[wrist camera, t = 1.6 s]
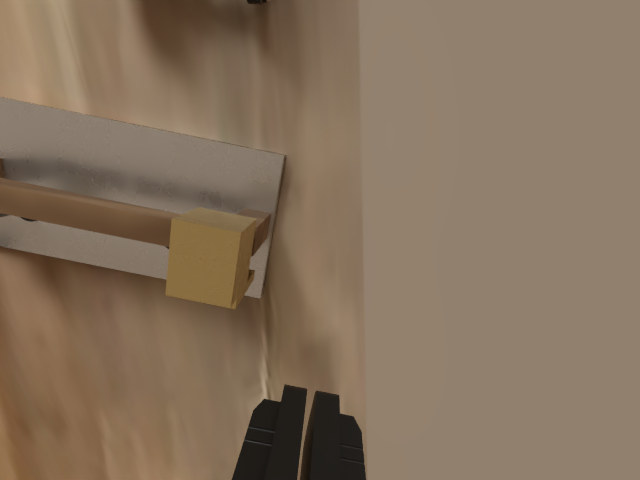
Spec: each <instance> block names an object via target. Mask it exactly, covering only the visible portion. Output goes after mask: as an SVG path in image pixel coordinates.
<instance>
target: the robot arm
mask: <svg viewBox="0 0 640 480" xmlns="http://www.w3.org/2000/svg"><path fill="white" fill-rule="evenodd" d="M306 396H307V389H305V388H300V387H295V386H290V385H284V390H283V395H282V400H281V402H277V401H272V400H267V399H264V400H263V401H262V402H261V403H260V404H259V405H258V406H257V407H256V408H255V409H254V410H253V413H252V417H251V420H250V423H249V427H248V429H247V433H246V436H245V439H244V442H243V446H242V449H241V452H240V455H239V458H238V462H237V465H236V468H235V471H234V474H233V478H232V480H297V474H298V466H299V457H300V448H301V440H302V431H303V422H304V413H305V405H306ZM300 480H366V476H365V465H364V454H363V444H362V433H361V430H360V428H359V426H358V424H357V422H356V420H355V419H354V417H353V416H349V415H344V414H340V406H339V395H336V394H331V393H326V392H321V391H316V392H315V396H314V400H313V404H312V409H311V413H310V417H309V422H308V426H307V430H306V435H305V441H304V448H303V456H302V466H301V475H300Z"/></svg>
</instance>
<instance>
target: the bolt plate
mask: <svg viewBox="0 0 640 480" xmlns="http://www.w3.org/2000/svg"><path fill="white" fill-rule="evenodd" d="M285 157H286V155H282V154H277V153H272V152H267V151H262V150H257V149H252V148H248V147H243V146H238V145H233V144H228V143H223V142H218V141H214V140H209V139H204V138H199V137H194V136H189V135H184V134H180V133H175V132H170V131H165V130H160V129H155V128H150V127H145V126H141V125H136V124H131V123H126V122H121V121H116V120H111V119H107V118H102V117H97V116H92V115H87V114H82V113H77V112H73V111H68V110H63V109H58V108H53V107H48V106H43V105H38V104H34V103H29V102H24V101H19V100H14V99H9V98H4V97H0V158H3V176H4V178H5V179H10V180H15V181H19V182H24V183H29V184H34V185H39V186H44V187H49V188H54V189H59V190H64V191H69V192H74V193H79V194H84V195H88V196H93V197H98V198H103V199H108V200H113V201H118V202H123V203H128V204H133V205H138V206H143V207H148V208H153V209H157V210H162V211H167V212H172V213H177V214H184V213H186V212H189V211H191V210H193V209H196V208H198V207H201V208H206V209H211V210H216V211H221V212H226V213H231V214H237V213H239V212H240V211H242V210H243V209H245V208H249V209H254V210H259V211H264V212H268V213H271V217H270V223H269V229H268V235H267V239H266V240H265V241H264V242H263V244H262V245H261V246H260V248H259V249H258V250H257V252H256V253H255V254H254V256H253V257H252V256H251V259H250V266H249V269H251V270H255V275H254V280H253V282H252V283H251V285H250V286H249V288H248V290H247V291H246V293H245V294H244V295H245V296H250V297H255V298H261V296H262V294H263V289H264V283H265V277H266V271H267V265H268V259H269V253H270V247H271V241H272V235H273V229H274V223H275V217H276V211H277V205H278V199H279V193H280V187H281V181H282V175H283V169H284V163H285ZM0 246H1V247H6V248H11V249H16V250H21V251H26V252H31V253H36V254H41V255H46V256H51V257H56V258H61V259H66V260H71V261H76V262H81V263H86V264H91V265H96V266H101V267H106V268H111V269H116V270H121V271H126V272H131V273H136V274H141V275H146V276H151V277H156V278H161V279H165V280H167V269H168V257H169V247H166V246H161V245H156V244H151V243H146V242H142V241H137V240H132V239H127V238H122V237H117V236H112V235H107V234H102V233H97V232H92V231H87V230H82V229H77V228H72V227H67V226H62V225H57V224H52V223H47V222H42V221H37V220H33V219H28V218H23V217H18V216H13V215H10V216H5V217H0Z"/></svg>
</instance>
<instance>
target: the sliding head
mask: <svg viewBox="0 0 640 480" xmlns="http://www.w3.org/2000/svg"><path fill="white" fill-rule="evenodd" d="M256 220H257V219H255V218H250V217H245V216H240V215H236V214H231V213H226V212H221V211H216V210H211V209H206V208H201V207H198V208H196V209H193V210H191V211H189V212H186V213H184V214H182V215H179V216H177V217H175V218H172V221H171V233H170V245H169V257H168V269H167V281H166V293H165V295H167V296H172V297H176V298H181V299H186V300H191V301H196V302H201V303H206V304H211V305H216V306H221V307H226V308H231V309H236V307H237V306H238V304H239V303H240V301H241V299H242V298H243V296H244V294H245V293H246V291H247V290H248V288H249V286H250V285H251V283H252V282H253V280H254V275H255V270H251V269H249V266H250V259H251V253H252V246H253V240H254V233H255V226H256Z"/></svg>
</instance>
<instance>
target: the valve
mask: <svg viewBox="0 0 640 480" xmlns="http://www.w3.org/2000/svg"><path fill="white" fill-rule="evenodd" d="M247 2H248V3H249V4H262V2H263V3H266V2H267V0H247Z"/></svg>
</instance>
